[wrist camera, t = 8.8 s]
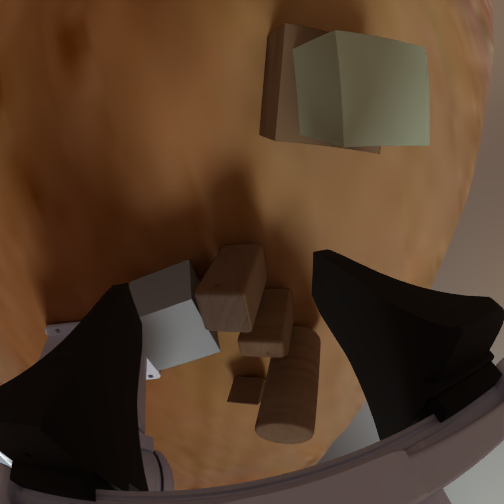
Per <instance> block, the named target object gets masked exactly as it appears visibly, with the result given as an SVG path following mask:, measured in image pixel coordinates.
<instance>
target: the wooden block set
mask: <svg viewBox="0 0 504 504" xmlns="http://www.w3.org/2000/svg"><path fill="white" fill-rule="evenodd" d="M266 281H267V270H266V263H265V256H264V249H263V246H262V244H259V243H258V244H236V245H224V246H222V248H221V249H220V251H219V253H218V254H217V256H216V257H215V259H214V261H213V262H212V264H211V266H210V267H209V269H208V270H207V272H206V274H205V275H204V277H203V279H202V280H201V282H200V284H199V285H198V287H197V289H196V290H195V298H196V301H197V304H198V308H199V311H200V314H201V317H202V320H203V324H204V327H205V329H206V330H208V331H223V332H240V334H239V337H238V340H237V341H238V345H239V349H240V353H241V355H243V356H253V357H271V359H270V364H269V368H268V373H267V377H266V382H265V381H264V378H256V377H241V376H236V377H235V378H234V381H233V384H232V387H231V391H230V394H229V397H228V400H227V402H232V403H242V404H253V405H258V404H259V403H260V402H261V404H260V408H259V412H258V417H257V421H256V425H255V431H256V433H257V434H258V436H260V437H261V438H263V439H266V440H268V441H271V442H275V443H282V444H296V443H302V442H305V441H308V440H309V439H311V438H312V436H313V434H314V429H315V418H316V407H317V394H318V380H319V364H320V343H321V341H320V338H319V336H318V335H317V333H316V332H315V331H313V330H312V329H310V328H307V327H303V326H293V319H294V312H293V300H292V291H291V289H289V288H280V289H264V287H265V284H266Z"/></svg>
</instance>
